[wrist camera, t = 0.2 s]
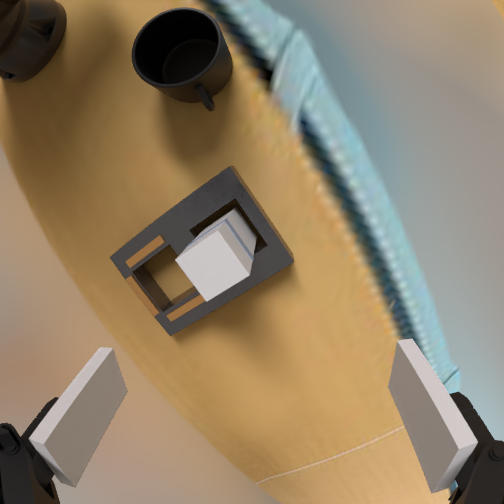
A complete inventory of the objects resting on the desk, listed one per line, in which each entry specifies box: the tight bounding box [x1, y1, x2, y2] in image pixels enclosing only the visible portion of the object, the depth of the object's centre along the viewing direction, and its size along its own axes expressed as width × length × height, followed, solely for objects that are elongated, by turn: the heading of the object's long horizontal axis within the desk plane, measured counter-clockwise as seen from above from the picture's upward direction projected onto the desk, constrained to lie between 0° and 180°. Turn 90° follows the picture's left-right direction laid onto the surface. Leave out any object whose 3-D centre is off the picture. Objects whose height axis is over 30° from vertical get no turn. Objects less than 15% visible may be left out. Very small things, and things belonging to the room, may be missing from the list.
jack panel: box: [110, 166, 294, 336], centre depth 39 cm, size 13×19×4 cm
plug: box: [175, 206, 257, 302], centre depth 33 cm, size 5×5×14 cm
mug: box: [132, 7, 232, 111], centre depth 30 cm, size 9×12×9 cm
